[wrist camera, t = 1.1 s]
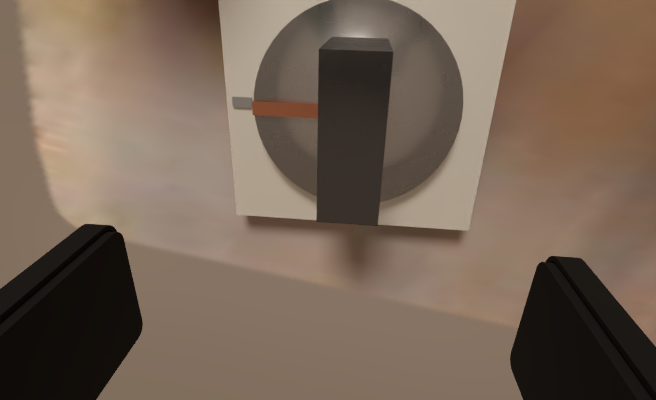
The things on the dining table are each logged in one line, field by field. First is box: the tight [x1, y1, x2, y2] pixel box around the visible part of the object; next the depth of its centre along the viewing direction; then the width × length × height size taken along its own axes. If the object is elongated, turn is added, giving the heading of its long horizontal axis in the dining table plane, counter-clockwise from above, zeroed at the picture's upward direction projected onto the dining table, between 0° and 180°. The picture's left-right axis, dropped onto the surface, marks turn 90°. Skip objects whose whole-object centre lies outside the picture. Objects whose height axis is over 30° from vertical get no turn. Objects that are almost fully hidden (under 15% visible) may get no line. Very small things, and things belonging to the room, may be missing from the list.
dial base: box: [218, 0, 516, 231], centre depth 25 cm, size 16×16×2 cm
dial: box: [252, 0, 463, 226], centre depth 21 cm, size 12×12×7 cm
